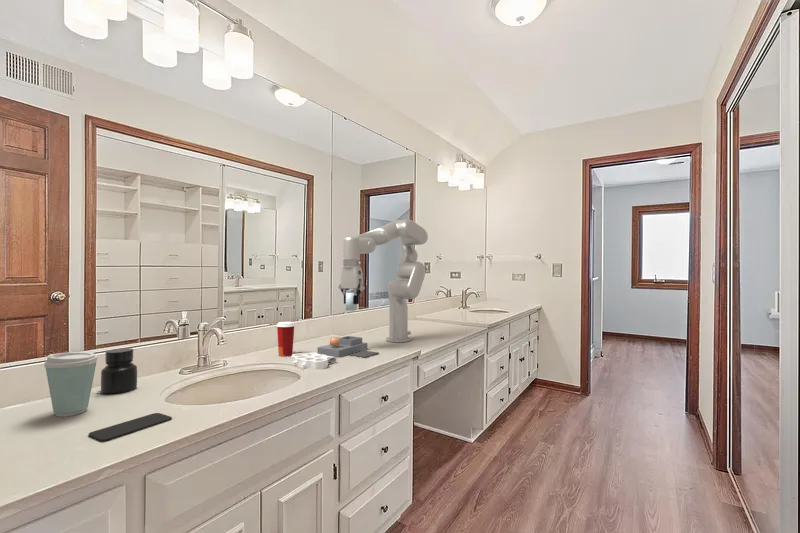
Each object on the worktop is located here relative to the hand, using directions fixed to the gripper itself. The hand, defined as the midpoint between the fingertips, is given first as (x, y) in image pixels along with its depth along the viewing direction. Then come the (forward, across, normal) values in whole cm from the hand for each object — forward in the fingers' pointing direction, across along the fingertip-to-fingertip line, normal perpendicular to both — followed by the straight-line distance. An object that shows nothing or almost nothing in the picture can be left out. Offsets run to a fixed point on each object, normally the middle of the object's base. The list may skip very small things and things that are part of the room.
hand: (351, 303), depth 175 cm
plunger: (+21, +1, +10) cm, 23 cm away
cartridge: (+3, 0, 0) cm, 3 cm away
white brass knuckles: (+22, -4, +28) cm, 36 cm away
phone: (+22, -13, +94) cm, 97 cm away
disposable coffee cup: (+22, +9, +98) cm, 101 cm away
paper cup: (+22, +17, +23) cm, 36 cm away
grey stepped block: (+21, +1, +4) cm, 22 cm away
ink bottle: (+22, +21, +83) cm, 89 cm away
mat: (+21, -11, +4) cm, 24 cm away
